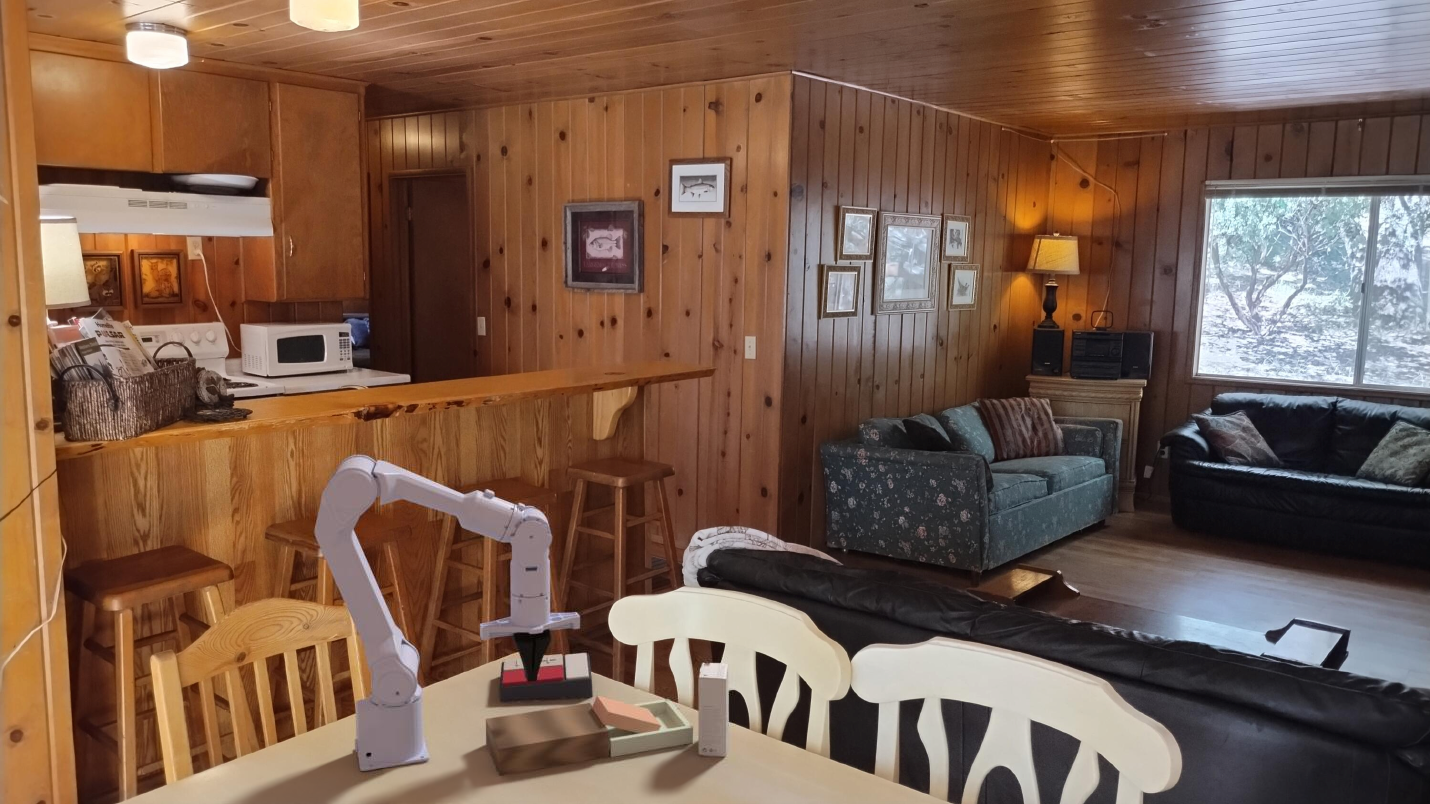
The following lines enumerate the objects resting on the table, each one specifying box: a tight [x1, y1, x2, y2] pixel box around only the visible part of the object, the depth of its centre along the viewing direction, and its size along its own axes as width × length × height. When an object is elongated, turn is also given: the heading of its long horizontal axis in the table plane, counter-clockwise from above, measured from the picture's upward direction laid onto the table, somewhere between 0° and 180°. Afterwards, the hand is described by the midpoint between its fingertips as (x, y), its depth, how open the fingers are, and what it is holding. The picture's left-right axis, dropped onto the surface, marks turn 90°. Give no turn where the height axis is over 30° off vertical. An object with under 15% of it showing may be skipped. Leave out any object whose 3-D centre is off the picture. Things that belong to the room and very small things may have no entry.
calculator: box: [498, 652, 594, 703], centre depth 177 cm, size 11×4×15 cm
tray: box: [605, 698, 694, 758], centre depth 161 cm, size 13×11×2 cm
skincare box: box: [697, 662, 730, 757], centre depth 157 cm, size 6×4×12 cm
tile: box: [592, 695, 661, 733], centre depth 160 cm, size 9×6×2 cm, turn 113°
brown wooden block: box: [485, 702, 610, 776], centre depth 155 cm, size 16×10×4 cm, turn 113°
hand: (531, 678), depth 157 cm, fingers closed
